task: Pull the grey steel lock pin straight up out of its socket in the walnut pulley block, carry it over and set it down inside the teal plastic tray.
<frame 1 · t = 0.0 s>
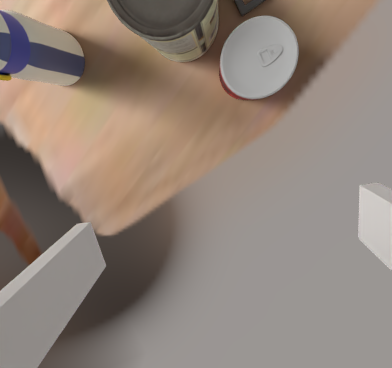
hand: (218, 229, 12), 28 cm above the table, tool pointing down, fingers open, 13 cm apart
coffee can: (181, 22, 33), on the table
canned food: (246, 72, 35), on the table
water bottle: (62, 60, 36), on the table
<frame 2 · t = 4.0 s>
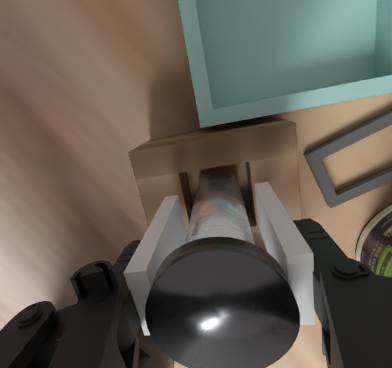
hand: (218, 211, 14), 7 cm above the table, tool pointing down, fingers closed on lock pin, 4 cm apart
gray rectangular frame: (372, 153, 18), on the table
tray: (283, 24, 16), on the table
lock pin: (218, 184, 18), point 2 cm above the table, touching gripper, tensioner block
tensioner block: (223, 209, 21), on the table
when the fingers open (7 cm above the table, at t = 8.9 s): lock pin drops 1 cm, resting on tray.
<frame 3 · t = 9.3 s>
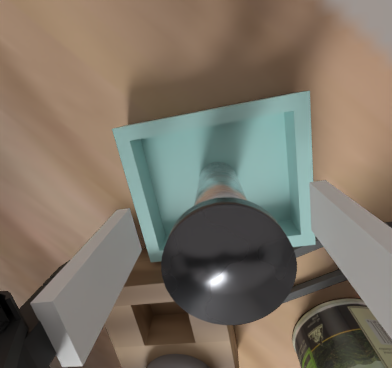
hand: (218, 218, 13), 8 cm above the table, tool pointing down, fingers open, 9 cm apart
coffee can: (343, 335, 25), on the table
gray rectangular frame: (298, 268, 22), on the table
tray: (218, 177, 20), on the table
lock pin: (218, 180, 19), point 1 cm above the table, touching tray
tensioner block: (180, 303, 25), on the table
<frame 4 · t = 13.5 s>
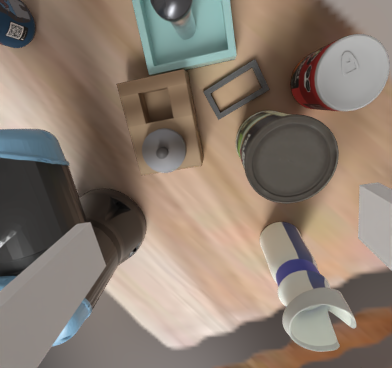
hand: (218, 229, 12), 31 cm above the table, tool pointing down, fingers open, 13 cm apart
coffee can: (266, 142, 40), on the table
gray rectangular frame: (235, 90, 38), on the table
canned food: (314, 82, 37), on the table
tray: (186, 28, 36), on the table
lock pin: (186, 27, 35), point 1 cm above the table, touching tray
water bottle: (280, 238, 46), on the table
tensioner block: (167, 123, 41), on the table
soda can: (19, 25, 38), on the table
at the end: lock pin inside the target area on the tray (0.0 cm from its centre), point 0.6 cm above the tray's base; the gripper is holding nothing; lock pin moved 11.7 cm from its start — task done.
